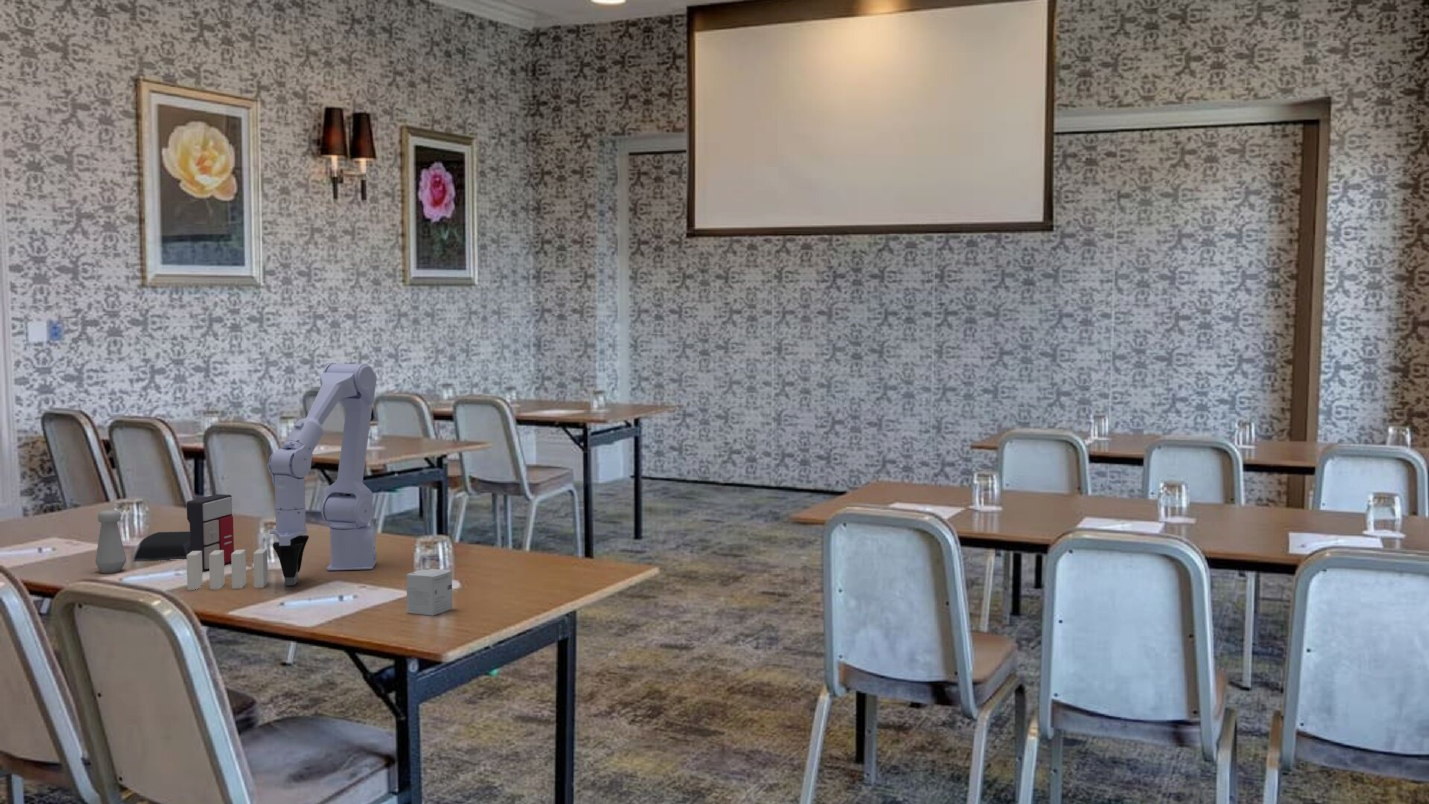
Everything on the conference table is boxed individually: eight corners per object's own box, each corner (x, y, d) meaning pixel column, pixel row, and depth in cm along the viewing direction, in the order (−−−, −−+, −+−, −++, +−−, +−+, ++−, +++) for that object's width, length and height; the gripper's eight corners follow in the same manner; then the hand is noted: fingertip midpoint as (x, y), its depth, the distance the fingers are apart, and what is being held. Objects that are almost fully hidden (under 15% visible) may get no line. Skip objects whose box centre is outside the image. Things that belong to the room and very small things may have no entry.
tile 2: (268, 582, 247) (267, 548, 246) (263, 587, 242) (262, 553, 242) (258, 583, 246) (257, 549, 246) (254, 588, 242) (253, 553, 242)
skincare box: (433, 616, 220) (433, 576, 220) (406, 613, 222) (405, 573, 222) (453, 609, 226) (452, 570, 225) (426, 605, 228) (425, 567, 228)
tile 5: (202, 584, 245) (201, 550, 244) (197, 589, 240) (196, 555, 240) (193, 585, 244) (192, 551, 244) (187, 590, 240) (186, 555, 240)
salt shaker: (132, 570, 258) (130, 509, 257) (109, 575, 253) (107, 513, 252) (113, 567, 261) (111, 507, 260) (89, 572, 256) (87, 511, 255)
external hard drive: (128, 564, 267) (128, 545, 267) (152, 547, 286) (151, 530, 286) (191, 562, 269) (190, 543, 269) (210, 545, 288) (210, 528, 288)
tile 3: (246, 583, 246) (245, 549, 246) (241, 588, 242) (240, 553, 241) (237, 583, 246) (236, 549, 245) (232, 588, 241) (231, 554, 241)
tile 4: (224, 584, 245) (223, 550, 245) (219, 589, 241) (218, 554, 241) (215, 584, 245) (214, 550, 245) (209, 589, 241) (209, 554, 240)
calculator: (206, 572, 256) (204, 502, 255) (188, 571, 257) (186, 501, 256) (236, 561, 267) (234, 494, 266) (219, 560, 268) (217, 493, 267)
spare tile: (298, 580, 248) (297, 546, 247) (294, 585, 243) (293, 550, 243) (288, 580, 247) (288, 546, 247) (284, 585, 243) (283, 551, 243)
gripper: (276, 502, 251) (278, 567, 252) (262, 514, 236) (264, 582, 237) (312, 502, 252) (313, 566, 253) (299, 513, 238) (301, 581, 239)
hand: (291, 574), depth 245 cm, fingers closed on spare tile, 4 cm apart
